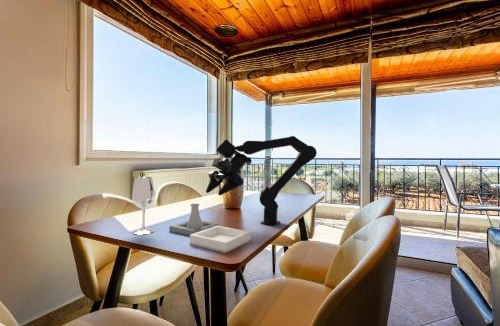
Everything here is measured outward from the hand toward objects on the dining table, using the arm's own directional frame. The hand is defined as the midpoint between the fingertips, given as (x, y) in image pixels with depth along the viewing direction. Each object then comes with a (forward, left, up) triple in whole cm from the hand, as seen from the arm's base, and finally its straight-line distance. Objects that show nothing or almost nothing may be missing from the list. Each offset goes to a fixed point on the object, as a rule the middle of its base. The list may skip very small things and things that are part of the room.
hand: (212, 193), depth 103 cm
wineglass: (+19, -17, -14) cm, 29 cm away
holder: (+7, -3, -13) cm, 15 cm away
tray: (+13, +14, -13) cm, 24 cm away
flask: (+7, -3, -14) cm, 16 cm away
